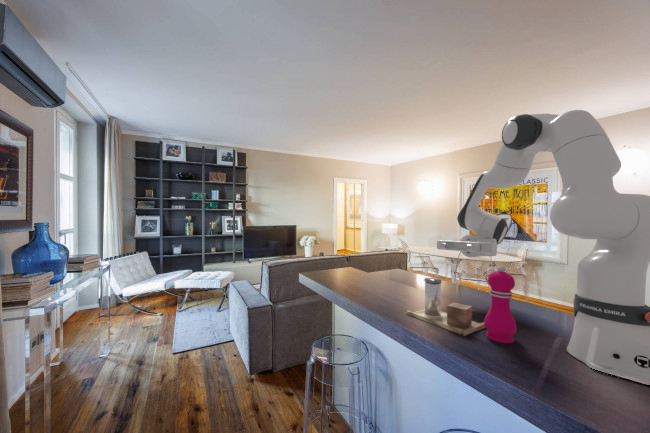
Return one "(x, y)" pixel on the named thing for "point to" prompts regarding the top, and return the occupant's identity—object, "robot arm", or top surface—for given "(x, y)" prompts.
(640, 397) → the top surface
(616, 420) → the top surface
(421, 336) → the top surface
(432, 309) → the canister
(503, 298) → the pepper mill
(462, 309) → the walnut block
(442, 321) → the board
